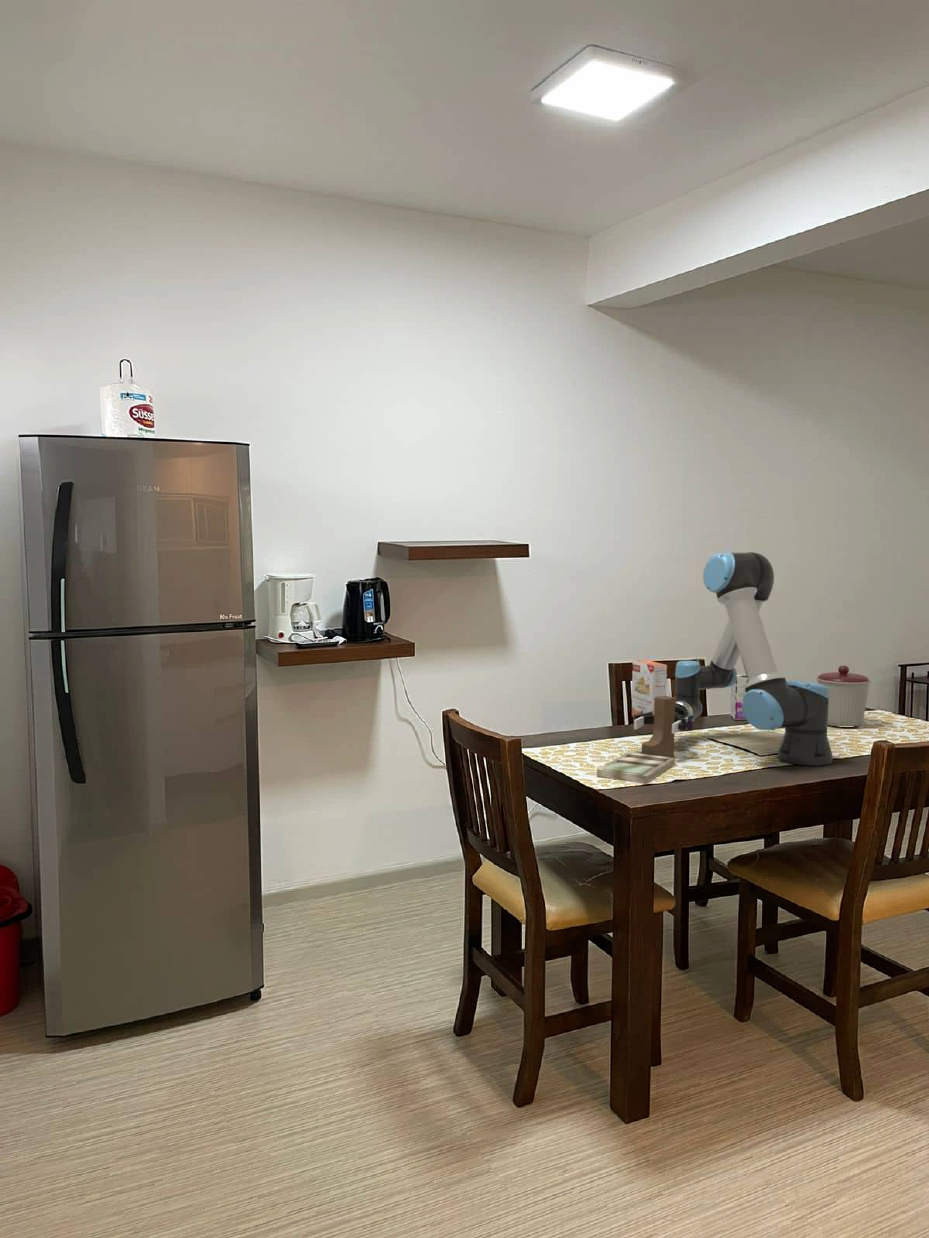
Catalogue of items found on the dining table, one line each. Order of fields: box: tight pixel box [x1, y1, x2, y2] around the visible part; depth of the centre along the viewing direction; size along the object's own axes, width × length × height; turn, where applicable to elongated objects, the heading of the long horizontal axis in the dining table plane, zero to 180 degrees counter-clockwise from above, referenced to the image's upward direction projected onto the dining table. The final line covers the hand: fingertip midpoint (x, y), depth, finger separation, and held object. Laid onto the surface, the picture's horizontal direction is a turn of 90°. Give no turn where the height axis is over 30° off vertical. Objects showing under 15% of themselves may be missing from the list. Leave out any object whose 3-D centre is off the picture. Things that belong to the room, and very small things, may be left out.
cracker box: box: [631, 659, 668, 725], centre depth 337 cm, size 14×6×21 cm, turn 22°
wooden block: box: [641, 695, 675, 758], centre depth 279 cm, size 9×4×18 cm, turn 120°
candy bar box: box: [730, 673, 748, 719], centre depth 339 cm, size 11×5×16 cm, turn 97°
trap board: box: [596, 751, 676, 784], centre depth 264 cm, size 14×24×2 cm, turn 150°
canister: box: [815, 665, 872, 727], centre depth 329 cm, size 18×18×21 cm
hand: (653, 726), depth 275 cm, fingers open, 11 cm apart
